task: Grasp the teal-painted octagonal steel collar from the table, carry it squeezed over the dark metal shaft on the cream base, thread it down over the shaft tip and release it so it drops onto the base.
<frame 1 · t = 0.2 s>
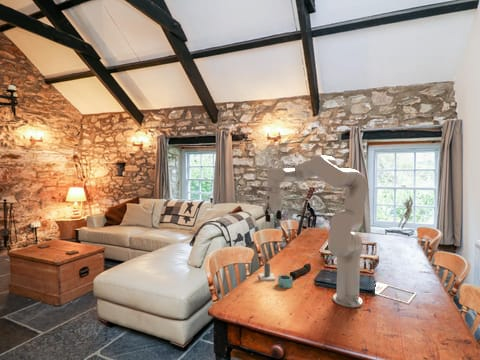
hand: (273, 220, 161), 30 cm above the table, tool pointing down, fingers open, 9 cm apart
collar: (285, 285, 146), on the table
photo frame: (391, 294, 138), on the table
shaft: (267, 277, 156), on the table
dark brown bar: (301, 274, 162), on the table
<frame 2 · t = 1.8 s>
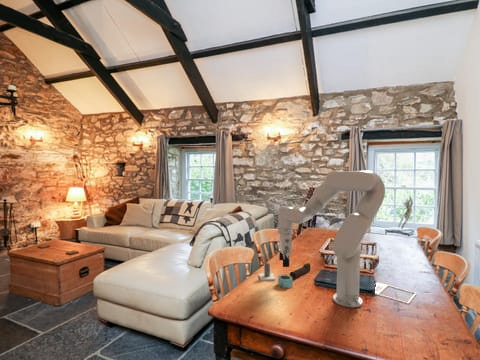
hand: (284, 263, 146), 11 cm above the table, tool pointing down, fingers open, 9 cm apart
nothing on the table moved.
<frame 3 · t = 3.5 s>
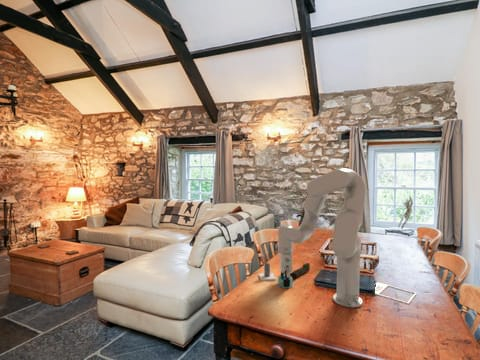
hand: (285, 283, 146), 1 cm above the table, tool pointing down, fingers closed on collar, 7 cm apart
collar: (285, 285, 146), on the table, touching gripper
everything else where it was.
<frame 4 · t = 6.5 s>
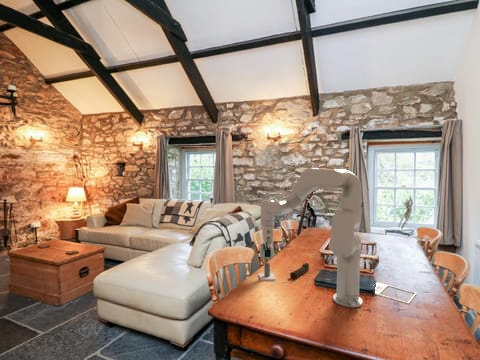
hand: (266, 254, 156), 13 cm above the table, tool pointing down, fingers closed on collar, 7 cm apart
collar: (266, 256, 156), point 12 cm above the table, touching gripper
everything else where it was.
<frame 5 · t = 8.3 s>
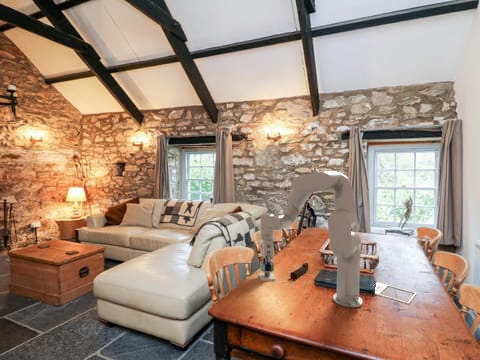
hand: (266, 268, 156), 5 cm above the table, tool pointing down, fingers closed on collar, 7 cm apart
collar: (266, 269, 156), point 4 cm above the table, touching gripper
everything else where it was.
when the fingers open (4 cm above the table, at t = 9.6 s): collar drops 2 cm, resting on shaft.
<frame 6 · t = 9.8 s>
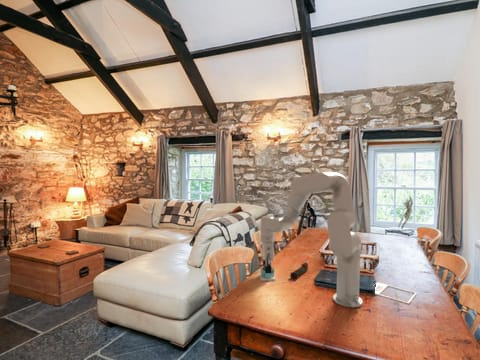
hand: (267, 269, 156), 4 cm above the table, tool pointing down, fingers open, 9 cm apart
collar: (267, 275, 156), point 1 cm above the table, touching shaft
everything else where it was.
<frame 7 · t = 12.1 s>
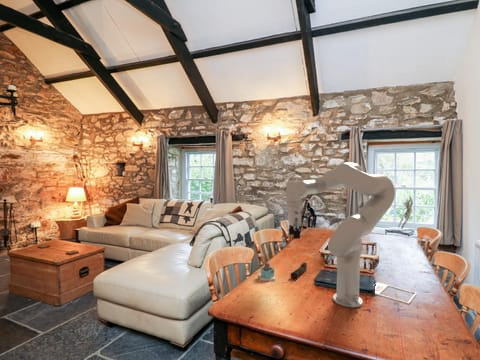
hand: (294, 236, 150), 24 cm above the table, tool pointing down, fingers open, 9 cm apart
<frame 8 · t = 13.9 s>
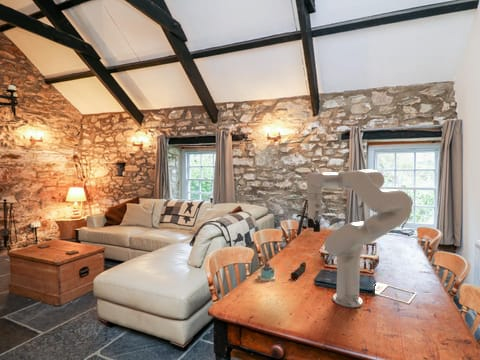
hand: (313, 229, 148), 28 cm above the table, tool pointing down, fingers open, 9 cm apart
at the end: collar 0.1 cm off-centre on the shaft, point 1.0 cm above the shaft's base; the gripper is holding nothing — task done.
